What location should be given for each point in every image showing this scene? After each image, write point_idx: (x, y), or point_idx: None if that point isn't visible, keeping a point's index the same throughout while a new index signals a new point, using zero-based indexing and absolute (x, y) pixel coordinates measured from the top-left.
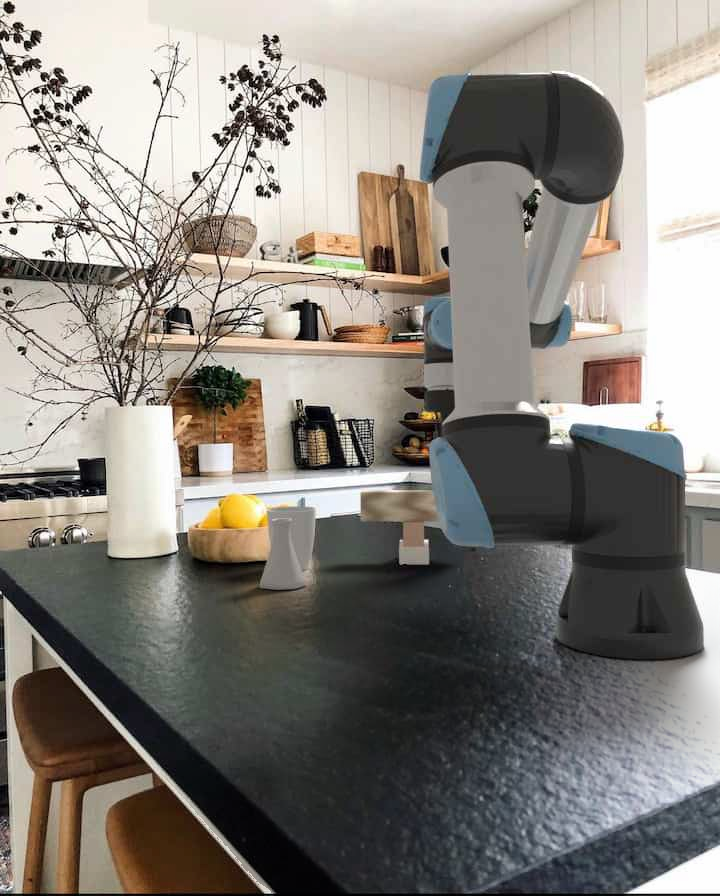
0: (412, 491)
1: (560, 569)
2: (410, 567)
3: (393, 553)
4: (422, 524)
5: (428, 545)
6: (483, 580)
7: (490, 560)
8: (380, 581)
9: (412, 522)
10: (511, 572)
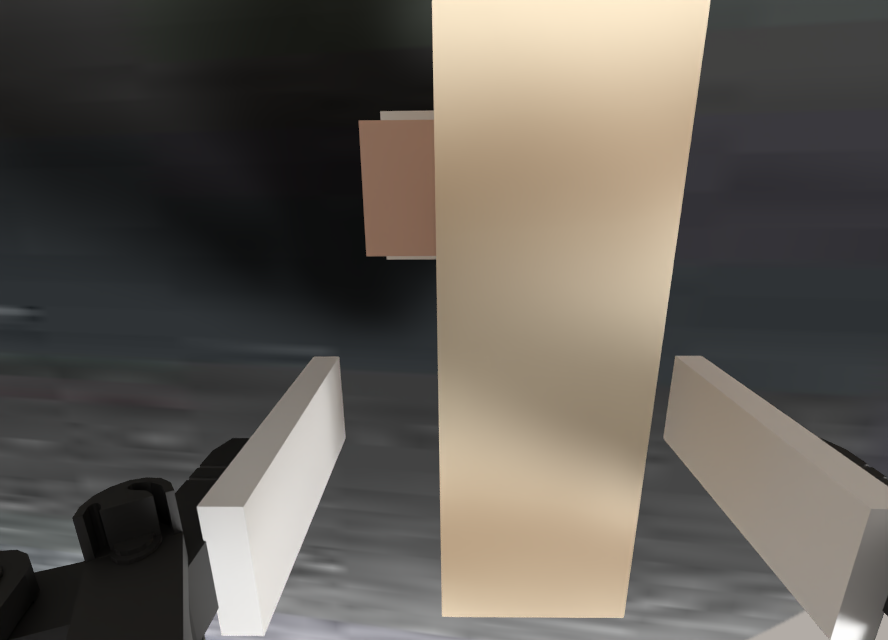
0: (520, 189)
1: (317, 620)
2: (331, 172)
3: None
4: (368, 246)
5: (418, 258)
6: (116, 414)
7: None
8: (22, 55)
9: (392, 184)
10: None
